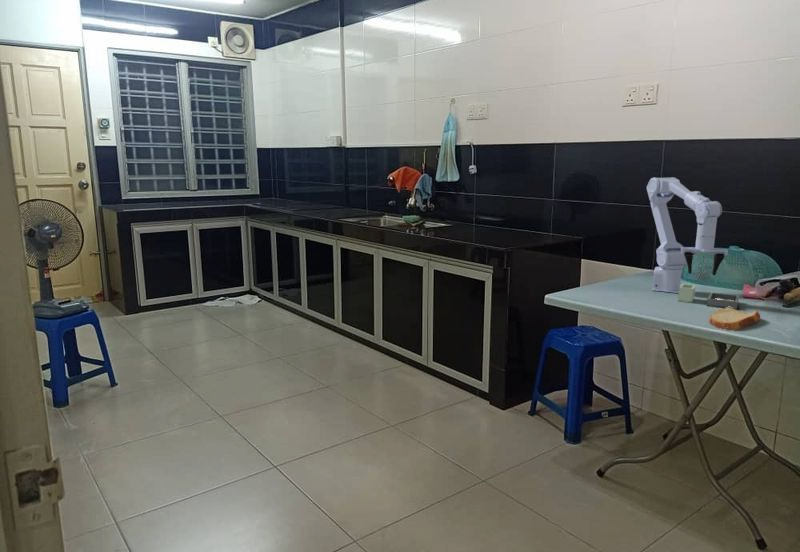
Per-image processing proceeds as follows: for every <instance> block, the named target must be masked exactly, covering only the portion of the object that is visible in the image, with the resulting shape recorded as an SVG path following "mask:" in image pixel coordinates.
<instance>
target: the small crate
mask: <svg viewBox="0 0 800 552" xmlns="http://www.w3.org/2000/svg"><path fill="white" fill-rule="evenodd" d="M695 294H696V285H695V284H687V283H681V284H680V287H679V293H678V297H677V301H678V302H682V303H683V302H684V303H692V304H693V302H694V300H695Z"/></svg>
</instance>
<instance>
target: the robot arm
mask: <svg viewBox="0 0 800 552" xmlns="http://www.w3.org/2000/svg"><path fill="white" fill-rule="evenodd" d="M646 191H647V195H648V199H649V201H650V207H651V212H652V216H653V218H654V223H655V227H656V231H657V234H658V238H659V242H660V246H658V248H656V249H655V250H656V251H655V252H656V262H657V264H658V266H655V267H654V270H653V278H652V288H651V290H652V291H656V292H657V291H658V292H664V293H674V294H679V287H680V286H681V281H682V280H681V278H682V269H684V267H685V265H687V273H688V274H689V275H691V274H692V268H693V266H692V264H693V259H694V256H693V254H698V255H699V254H701V255H713V267H712V273H711V274H712V275H713V276H716V274H717V271H718V269H719V266H720V265H721V263H722V262H723V260H724V259H725V256H728V255H729V249H727V248H717V247H716V248H715V240H716V231H717V230H716V229H717V223H718V218H719V217H720V216H721V215H722V213H723V207H722V204H721V203H720V202H719V201H717V200H714V201H712V200H710V198H709V197H705V196H704V195H702V194H701V191H698V190H695V191H691V190H689V189H688V188H687V187H686V186H685V185H683V184H682V183H681V182H680V179H678V178H677V177H674V176H673V177H672V176H671V177H651V178H650V179H649V181H648V183H647V185H646ZM674 195H676V196H677V197H679V198H680V199H682V200H683V203H684V205H685V206H687V207H688V208H689V209H691V210H692V211H694V214H695V216H696V223H697V228H696V236H695V237H696V239H695V246H692V247H691V246H690V247H689V246H684V245H682V244H681V243H680V242H677V239H676V235H675V232H674V228H673V224H672V220H671V217H670V212H669V209H668V206H667V203H668V202H670V201H671V200H672V198H673V197H674Z"/></svg>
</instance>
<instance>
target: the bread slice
mask: <svg viewBox="0 0 800 552" xmlns="http://www.w3.org/2000/svg"><path fill="white" fill-rule="evenodd" d="M760 318H761V314H760V313H759V311H758V310H755V311H753V312H743V311H740V310H738V309H733V308H730V307H729V308H720V309H718V310H716V311H714V312H712V313H711V314H710V318H709V321H708V323H709V324H710V325H711V326H712V327H715V328H718V329H720V328H721V329H720V330H724V329H726V330H725V331H731V330H734V331H739V330H742V329H745V328H747V327H749V326H751V325H754V324H756V323H757V322H759V319H760ZM738 329H739V330H738Z"/></svg>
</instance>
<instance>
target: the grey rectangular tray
mask: <svg viewBox="0 0 800 552" xmlns="http://www.w3.org/2000/svg"><path fill="white" fill-rule="evenodd" d="M717 297H720V298H723V299H731V300H734V301H726V300H717V299H715V298H717ZM739 299H740V295H739V294H738V295H737V294H728V293H721V292H720V293H719V292H710V293H709V296H708V297H707V302H706V306H707V307H712V308H713V307H714V308H720V309H725V307H728V306H731V307H733V309H736V310H738V309H737V308H738V305H739Z"/></svg>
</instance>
